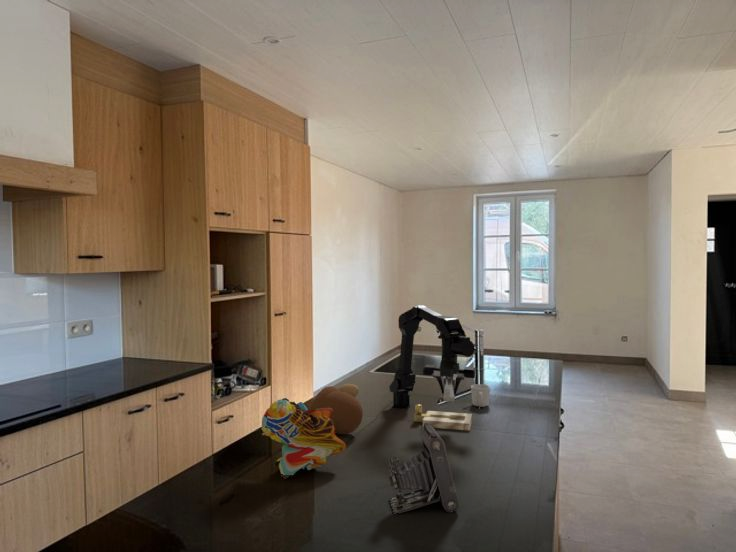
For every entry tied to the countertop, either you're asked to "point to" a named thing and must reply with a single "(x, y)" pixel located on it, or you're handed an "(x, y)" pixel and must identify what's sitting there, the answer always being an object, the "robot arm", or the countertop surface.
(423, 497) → the camera
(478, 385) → the cup
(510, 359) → the countertop surface
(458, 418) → the dock
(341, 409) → the toy
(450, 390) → the cylinder
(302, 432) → the multicolored irregular chunky piece
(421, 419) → the pin
